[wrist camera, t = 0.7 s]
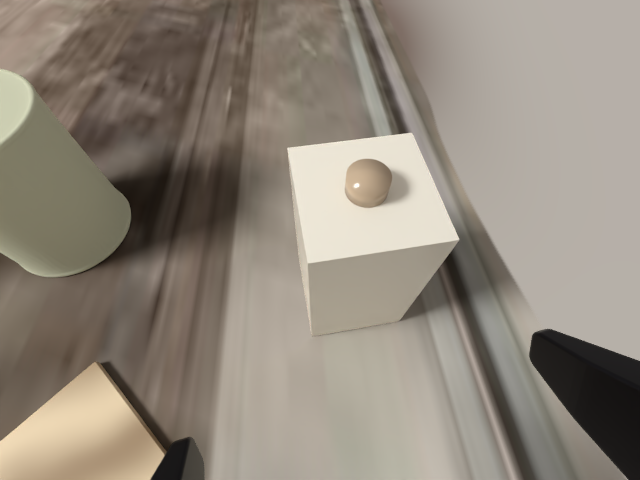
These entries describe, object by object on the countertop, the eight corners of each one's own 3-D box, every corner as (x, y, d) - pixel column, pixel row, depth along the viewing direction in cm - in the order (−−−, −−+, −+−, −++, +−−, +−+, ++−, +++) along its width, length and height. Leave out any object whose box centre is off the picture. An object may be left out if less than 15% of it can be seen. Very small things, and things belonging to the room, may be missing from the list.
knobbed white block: (399, 321, 24) (468, 227, 13) (311, 336, 24) (307, 252, 13) (376, 245, 28) (416, 117, 16) (298, 256, 27) (285, 132, 16)
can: (-5, 232, 28) (-194, 114, 18) (95, 169, 32) (-13, 40, 21) (49, 301, 25) (-139, 209, 15) (153, 223, 29) (60, 105, 18)
